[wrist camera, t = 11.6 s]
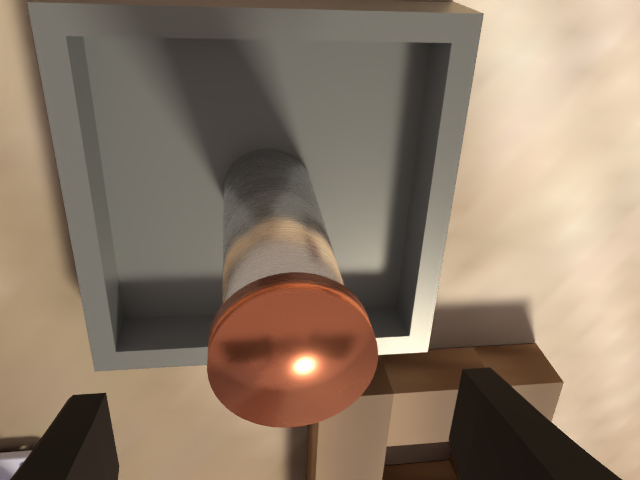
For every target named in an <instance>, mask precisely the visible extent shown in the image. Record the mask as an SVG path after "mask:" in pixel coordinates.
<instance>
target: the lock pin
mask: <svg viewBox="0 0 640 480" xmlns="http://www.w3.org/2000/svg"><path fill="white" fill-rule="evenodd" d="M377 362H378V346H377V341H376V338H375V335H374V332H373V329H372V326H371V324H370V321H369V318H368V315H367V312H366V310H365V308H364V306H363V304H362V303H361V302H360V300H359V299H358V298H357V296H356V295H355V294H354V293H353V292H352V291H350V290H349V289H348V288H346V287H345V286H344V284H343V281H342V278H341V274H340V271H339V268H338V265H337V262H336V258H335V255H334V252H333V249H332V246H331V243H330V239H329V236H328V233H327V230H326V227H325V224H324V220H323V217H322V214H321V211H320V208H319V204H318V201H317V198H316V195H315V192H314V189H313V185H312V182H311V179H310V176H309V173H308V171H307V169H306V168H305V166H304V165H303V164H302V163H301V162H300V160H298V159H297V158H296V157H295V156H293V155H291V154H289V153H287V152H285V151H282V150H278V149H269V148H267V149H259V150H255V151H252V152H249V153H247V154H245V155H244V156H242V157H240V158H239V159H238V160H237V161H236V162H235V163H234V164H233V165H232V166H231V168H230V169H229V171H228V173H227V175H226V178H225V181H224V201H223V305H222V306H221V308H220V309H219V310H218V312H217V314H216V315H215V317H214V319H213V322H212V324H211V327H210V331H209V337H208V358H207V372H208V379H209V382H210V385H211V388H212V390H213V391H214V393H215V395H216V397H217V398H218V399H219V400H220V402H221V403H222V404H223V405H224V406H225V407H226V408H227V409H229V410H230V411H231V412H233V413H234V414H236V415H237V416H239V417H241V418H243V419H245V420H248V421H250V422H253V423H256V424H260V425H264V426H270V427H282V428H283V427H299V426H305V425H310V424H314V423H317V422H320V421H323V420H326V419H328V418H330V417H333V416H335V415H336V414H338V413H340V412H342V411H343V410H345V409H346V408H348V407H349V406H350V405H351V404H353V403H354V402H355V401H356V400H357V399H358V398H359V397H360V396H361V395H362V394H363V393H364V391H365V390H366V389H367V387H368V386H369V384H370V382H371V380H372V378H373V376H374V374H375V371H376V368H377Z"/></svg>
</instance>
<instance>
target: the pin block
mask: <svg viewBox="0 0 640 480" xmlns="http://www.w3.org/2000/svg"><path fill="white" fill-rule="evenodd" d="M487 367H490V368H491V369H493V370H494V371H495V372H496V373H497V374H498V375H499V376H501V377H502V378H503V379H504V380H505V381H506V382H507V383H508V384H509V385H511V386H512V387H513V388H514V389H515V390H516V391H517V392H518V393H519V394H520V395H522V396H523V397H524V398H525V399H526V400H527V401H528V402H529V403H530V404H532V405H533V406H534V407H535V408H536V409H537V410H538V411H539V412H540V413H542V414H543V415H544V416H545V417H546V418H547V419H548V420H549V421H552V418H553V414H554V411H555V408H556V405H557V402H558V399H559V396H560V392H561V389H562V386H563V383H564V382H563V381H562V379H561V378H560V377H559V375H558V374H557V372H556V371H555V370H554V368H553V367H552V365H551V364H550V363H549V361H548V360H547V358H546V357H545V356H544V354H543V353H542V351H541V350H540V349H539V347H538V346H537V344H536V343H534V344H517V345H499V346H482V347H464V348H447V349H430V350H428V352H420V353H402V354H385V355H378V362H377V368H376V371H375V374H374V376H373V378H372V380H371V382H370V384H369V386H368V387H367V389H366V390H365V391H364V393H363V394H362V395H361V396H360V397H359V398H358V399H357V400H356V401H355V402H354V403H353V404H351V405H350V406H349V407H348V408H346V409H345V410H343V411H342V412H340V413H338V414H336V415H335V416H333V417H330V418H328V419H326V420H323V421H320V422H317V423H314V424H310V425H309V433H308V455H307V477H306V480H460V477H459V473H458V470H457V467H456V464H455V460H454V457H453V453H452V450H451V455H450V460H448V461H436V462H424V463H412V464H401V465H389V466H384V462H385V455H386V448H387V446H400V445H412V444H425V443H437V442H449V434H450V429H451V424H452V419H453V414H454V409H455V404H456V399H457V394H458V389H459V384H460V379H461V374H462V369H472V368H487Z"/></svg>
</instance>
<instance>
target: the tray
mask: <svg viewBox="0 0 640 480" xmlns="http://www.w3.org/2000/svg"><path fill="white" fill-rule="evenodd" d="M27 5H28V11H29V16H30V22H31V27H32V32H33V38H34V43H35V49H36V54H37V60H38V65H39V71H40V76H41V81H42V87H43V92H44V98H45V103H46V109H47V114H48V120H49V125H50V130H51V136H52V141H53V147H54V152H55V158H56V163H57V169H58V174H59V179H60V185H61V190H62V196H63V201H64V207H65V212H66V218H67V223H68V228H69V234H70V239H71V245H72V250H73V256H74V261H75V267H76V272H77V278H78V283H79V288H80V294H81V299H82V305H83V310H84V316H85V321H86V327H87V332H88V337H89V343H90V348H91V354H92V359H93V365H94V370H95V371H110V370H127V369H144V368H161V367H179V366H196V365H207V358H208V337H209V331H210V327H211V324H212V322H213V319H214V317H215V315H216V314H217V312H218V310H219V309H220V308H221V306H222V305H223V201H224V181H225V178H226V175H227V173H228V171H229V169H230V168H231V166H232V165H233V164H234V163H235V162H236V161H237V160H238V159H239V158H240V157H242V156H244V155H245V154H247V153H249V152H252V151H255V150H259V149H267V148H269V149H278V150H282V151H285V152H287V153H289V154H291V155H293V156H295V157H296V158H297V159H298V160H300V162H301V163H302V164H303V165H304V166H305V168H306V169H307V171H308V173H309V176H310V179H311V182H312V185H313V189H314V192H315V195H316V198H317V201H318V204H319V208H320V211H321V214H322V217H323V220H324V224H325V227H326V230H327V233H328V236H329V239H330V243H331V246H332V249H333V252H334V255H335V258H336V262H337V265H338V268H339V271H340V274H341V278H342V281H343V284H344V286H345V287H346V288H348V289H349V290H350V291H352V292H353V293H354V294H355V295H356V296H357V298H358V299H359V300H360V302H361V303H362V304H363V306H364V308H365V310H366V312H367V315H368V318H369V321H370V324H371V326H372V329H373V332H374V335H375V338H376V341H377V346H378V355H385V354H402V353H420V352H428V347H429V341H430V335H431V329H432V323H433V317H434V311H435V305H436V299H437V293H438V287H439V281H440V275H441V269H442V263H443V256H444V250H445V244H446V238H447V232H448V226H449V220H450V214H451V208H452V202H453V196H454V190H455V184H456V178H457V172H458V166H459V160H460V154H461V148H462V142H463V136H464V129H465V123H466V117H467V111H468V105H469V99H470V93H471V87H472V81H473V75H474V69H475V63H476V57H477V51H478V45H479V39H480V33H481V27H482V21H483V15H484V14H483V13H480V12H478V11H476V10H473V9H471V8H468V7H466V6H463V5H461V4H458V3H456V2H444V1H409V0H31V1H28V2H27Z"/></svg>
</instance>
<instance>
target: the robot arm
mask: <svg viewBox="0 0 640 480" xmlns="http://www.w3.org/2000/svg"><path fill="white" fill-rule="evenodd" d="M449 443H450V446H451V450H452V453H453V457H454V460H455V464H456V467H457V470H458V473H459V477H460V480H622V479H621V478H619V477H618V476H617V475H615V474H614V473H613V472H611V471H610V470H609V469H608V468H606V467H605V466H604V465H602V464H601V463H600V462H599V461H597V460H596V459H595V458H593V457H592V456H591V455H590V454H588V453H587V452H586V451H585V450H584V449H582V448H581V447H580V446H579V445H578V444H576V443H575V442H574V441H573V440H572V439H570V438H569V437H568V436H567V435H566V434H564V433H563V432H562V431H561V430H560V429H559V428H557V427H556V426H555V425H554V424H553V423H552V422H551V421H549V420H548V419H547V418H546V417H545V416H544V415H543V414H542V413H540V412H539V411H538V410H537V409H536V408H535V407H534V406H533V405H532V404H530V403H529V402H528V401H527V400H526V399H525V398H524V397H523V396H522V395H520V394H519V393H518V392H517V391H516V390H515V389H514V388H513V387H512V386H511V385H509V384H508V383H507V382H506V381H505V380H504V379H503V378H502V377H501V376H499V375H498V374H497V373H496V372H495V371H494V370H493V369H491V368H490V367H487V368H472V369H462V374H461V379H460V384H459V389H458V394H457V399H456V404H455V409H454V414H453V419H452V424H451V429H450V434H449ZM118 473H119V463H118V457H117V452H116V446H115V441H114V435H113V430H112V424H111V418H110V413H109V407H108V402H107V396H106V393H97V394H82V395H73V396H72V397H70V398H69V399H68V400H67V402H66V403H65V405H64V406H63V408H62V409H61V411H60V412H59V414H58V415H57V417H56V418H55V419H54V421H53V422H52V424H51V425H50V427H49V428H48V429H47V431H46V432H45V434H44V435H43V436H42V438H41V439H40V440H39V442H38V443H37V445H36V446H35V447H34V449H33V450H30V451H17V452H4V453H0V480H118Z"/></svg>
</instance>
